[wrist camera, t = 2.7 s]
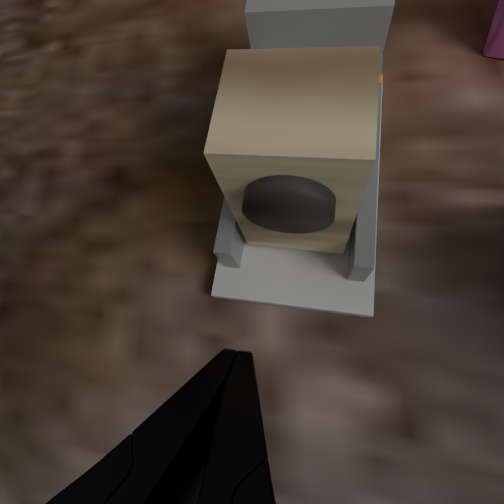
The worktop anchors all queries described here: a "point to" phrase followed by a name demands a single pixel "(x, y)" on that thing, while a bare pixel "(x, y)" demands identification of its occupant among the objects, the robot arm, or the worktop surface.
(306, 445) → the worktop surface
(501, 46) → the gum box
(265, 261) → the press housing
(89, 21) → the worktop surface
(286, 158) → the beige cube with disc
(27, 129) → the worktop surface
